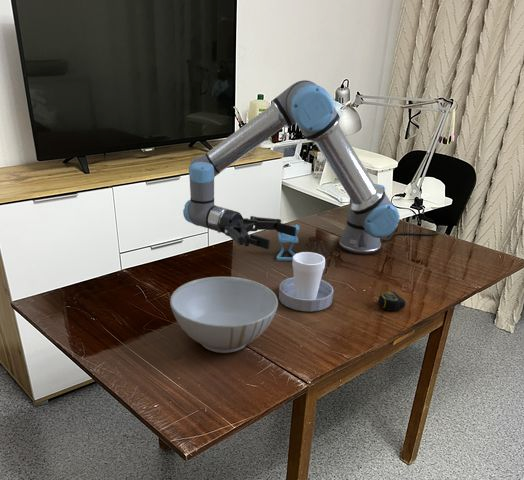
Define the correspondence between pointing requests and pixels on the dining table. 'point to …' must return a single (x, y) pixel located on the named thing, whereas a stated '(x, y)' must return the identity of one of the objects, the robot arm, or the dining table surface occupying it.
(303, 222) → the dining table surface
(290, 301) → the white plant saucer
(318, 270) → the foam cup
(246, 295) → the decorative bowl
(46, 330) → the dining table surface
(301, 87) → the robot arm
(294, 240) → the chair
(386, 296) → the tape measure
